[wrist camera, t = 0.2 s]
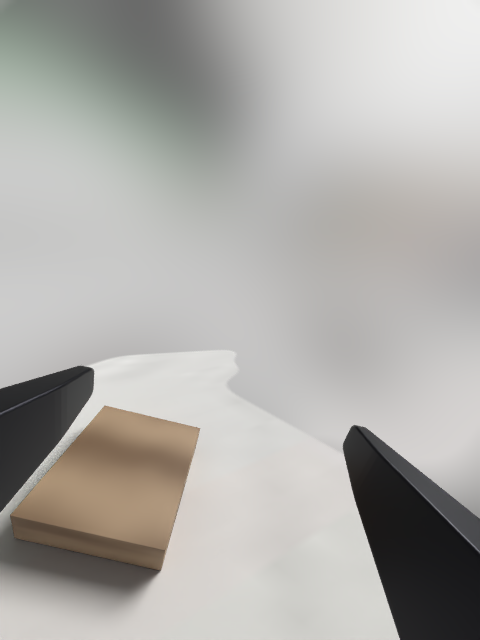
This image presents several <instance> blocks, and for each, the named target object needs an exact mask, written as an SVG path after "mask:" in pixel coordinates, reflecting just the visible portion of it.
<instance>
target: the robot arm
mask: <svg viewBox="0 0 480 640" xmlns="http://www.w3.org/2000/svg"><path fill="white" fill-rule="evenodd" d="M93 386H94V370H93V369H92V368H90V367H85V366H77V367H73V368H70V369H67V370H63V371H60V372H56V373H53V374H49V375H46V376H43V377H39V378H36V379H32V380H29V381H26V382H22V383H19V384H15V385H12V386H8V387H5V388H2V389H0V512H1V511H2V510H3V509H4V507H5V506H6V505H7V504H8V503H9V501H10V500H11V499H12V498H13V497H14V495H15V494H16V493H17V492H18V491H19V489H20V488H21V487H22V486H23V485H24V483H25V482H26V481H27V480H28V479H29V477H30V476H31V475H32V474H33V473H34V471H35V470H36V469H37V468H38V467H39V465H40V464H41V463H42V462H43V461H44V459H45V458H46V457H47V456H48V455H49V453H50V452H51V451H52V450H53V449H54V447H55V446H56V445H57V444H58V443H59V441H60V440H61V439H62V437H63V436H64V435H65V433H66V432H67V430H68V429H69V427H70V426H71V425H72V423H73V422H74V420H75V419H76V417H77V416H78V414H79V413H80V411H81V410H82V408H83V407H84V405H85V404H86V403H87V401H88V400H89V398H90V397H91V395H92V392H93ZM343 451H344V456H345V460H346V465H347V469H348V473H349V478H350V482H351V486H352V491H353V494H354V498H355V501H356V505H357V508H358V511H359V514H360V517H361V520H362V523H363V527H364V530H365V533H366V536H367V539H368V542H369V545H370V548H371V551H372V554H373V557H374V561H375V564H376V567H377V570H378V573H379V576H380V579H381V582H382V585H383V588H384V591H385V595H386V598H387V601H388V604H389V607H390V610H391V613H392V616H393V619H394V622H395V626H396V629H397V632H398V635H399V638H400V640H480V519H479V518H478V517H477V516H475V515H474V514H473V513H471V512H470V511H469V510H468V509H467V508H465V507H464V506H463V505H462V504H460V503H459V502H458V501H457V500H455V499H454V498H453V497H452V496H450V495H449V494H448V493H447V492H445V491H444V490H443V489H442V488H440V487H439V486H438V485H437V484H435V483H434V482H433V481H432V480H430V479H429V478H428V477H427V476H425V475H424V474H423V473H422V472H420V471H419V470H418V469H417V468H415V467H414V466H413V465H411V464H410V463H409V462H408V461H407V460H406V459H404V458H403V457H402V456H400V455H399V454H398V453H397V452H395V451H394V450H393V449H392V448H390V447H389V446H388V445H386V444H385V443H384V442H383V441H382V440H380V439H379V438H378V437H377V436H376V435H374V434H373V433H372V432H371V431H369V430H368V429H367V428H365V427H361V426H356V425H354V426H352V427H351V429H350V431H349V433H348V435H347V437H346V439H345V441H344V443H343Z"/></svg>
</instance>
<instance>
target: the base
mask: <svg viewBox="0 0 480 640" xmlns="http://www.w3.org/2000/svg"><path fill="white" fill-rule="evenodd" d="M199 431H200V428H197V427H192V426H188V425H184V424H180V423H176V422H171V421H167V420H163V419H159V418H155V417H150V416H146V415H142V414H138V413H134V412H129V411H125V410H121V409H117V408H113V407H108V406H104V407H103V408H102V409H101V411H100V412H99V413H98V414H97V415H96V416H95V418H94V419H93V420H92V421H91V422H90V423H89V425H88V426H87V427H86V428H85V429H84V430H83V431H82V433H81V434H80V435H79V436H78V437H77V438H76V440H75V441H74V442H73V443H72V444H71V445H70V447H69V448H68V449H67V450H66V451H65V452H64V454H63V455H62V456H61V457H60V458H59V459H58V461H57V462H56V463H55V464H54V465H53V466H52V467H51V469H50V470H49V471H48V472H47V473H46V474H45V476H44V477H43V478H42V479H41V480H40V481H39V483H38V484H37V485H36V486H35V487H34V488H33V490H32V491H31V492H30V493H29V494H28V495H27V496H26V498H25V499H24V500H23V501H22V502H21V503H20V505H19V506H18V507H17V508H16V509H15V510H14V512H13V513H12V514H11V515H10V517H11V522H12V527H13V533H14V538H17V539H21V540H26V541H30V542H35V543H39V544H43V545H48V546H52V547H57V548H61V549H66V550H70V551H75V552H79V553H84V554H88V555H93V556H97V557H102V558H106V559H111V560H115V561H120V562H124V563H129V564H133V565H138V566H142V567H147V568H151V569H156V570H160V571H161V568H162V565H163V561H164V558H165V554H166V550H167V547H168V543H169V540H170V536H171V533H172V529H173V526H174V522H175V519H176V515H177V511H178V508H179V504H180V501H181V497H182V494H183V490H184V487H185V483H186V479H187V476H188V472H189V469H190V465H191V462H192V458H193V455H194V451H195V447H196V444H197V439H198V435H199Z"/></svg>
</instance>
